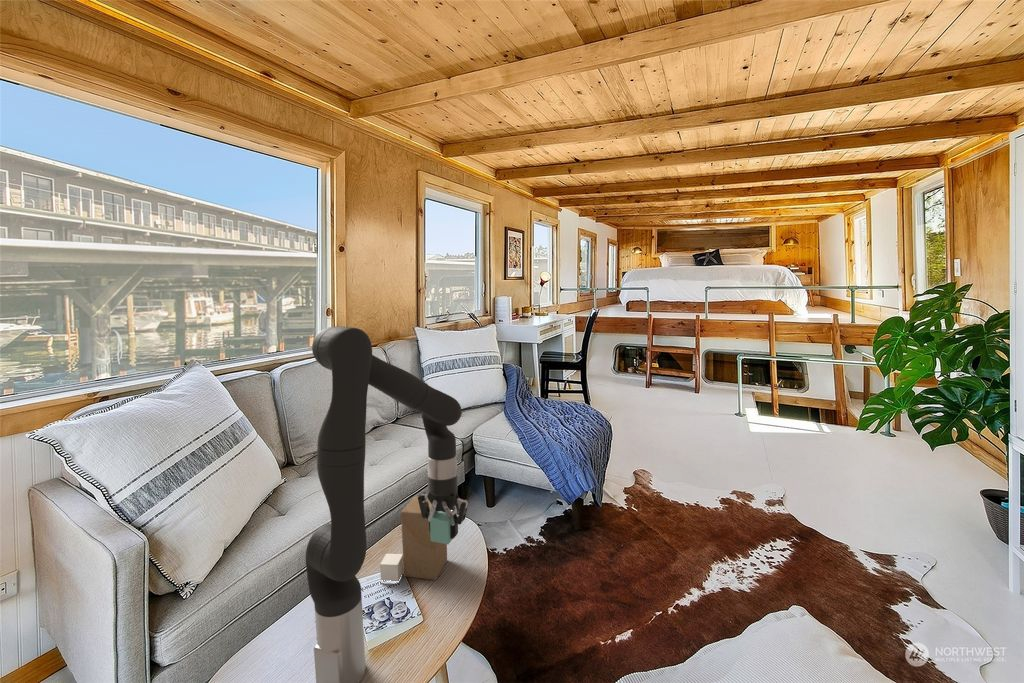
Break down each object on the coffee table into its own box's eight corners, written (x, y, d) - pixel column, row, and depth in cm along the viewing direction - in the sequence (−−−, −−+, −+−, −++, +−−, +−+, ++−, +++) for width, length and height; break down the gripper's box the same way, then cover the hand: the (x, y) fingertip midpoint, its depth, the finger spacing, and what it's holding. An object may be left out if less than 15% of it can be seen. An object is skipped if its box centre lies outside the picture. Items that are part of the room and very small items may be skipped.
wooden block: (435, 581, 125) (433, 514, 123) (403, 576, 127) (400, 511, 125) (447, 559, 135) (445, 498, 132) (417, 556, 137) (414, 495, 134)
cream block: (398, 584, 124) (397, 564, 123) (381, 584, 124) (380, 564, 123) (403, 573, 129) (402, 554, 128) (386, 572, 129) (386, 553, 128)
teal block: (448, 544, 112) (447, 521, 111) (430, 541, 113) (430, 518, 112) (456, 534, 116) (456, 512, 116) (439, 531, 118) (439, 509, 117)
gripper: (410, 474, 111) (412, 538, 113) (461, 482, 107) (462, 548, 109) (425, 464, 119) (426, 524, 120) (474, 470, 114) (474, 532, 116)
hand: (443, 535), depth 115 cm, fingers closed on teal block, 5 cm apart
